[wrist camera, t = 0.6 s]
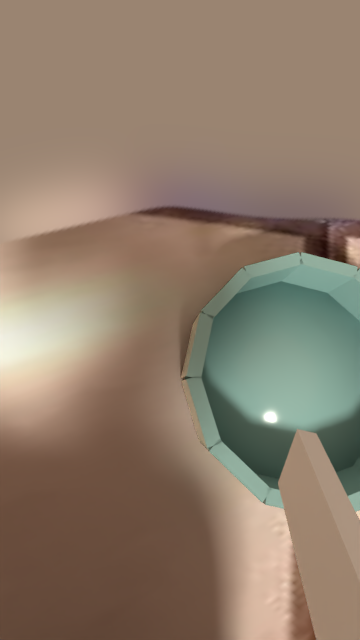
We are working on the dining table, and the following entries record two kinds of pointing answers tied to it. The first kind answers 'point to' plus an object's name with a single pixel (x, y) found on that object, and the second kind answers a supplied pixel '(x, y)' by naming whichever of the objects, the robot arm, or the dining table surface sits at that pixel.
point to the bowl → (279, 370)
